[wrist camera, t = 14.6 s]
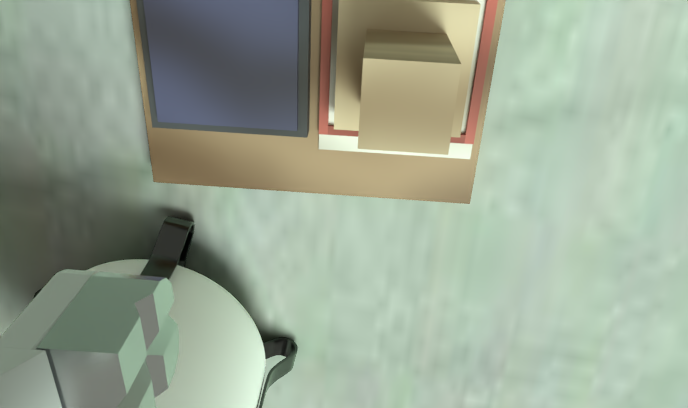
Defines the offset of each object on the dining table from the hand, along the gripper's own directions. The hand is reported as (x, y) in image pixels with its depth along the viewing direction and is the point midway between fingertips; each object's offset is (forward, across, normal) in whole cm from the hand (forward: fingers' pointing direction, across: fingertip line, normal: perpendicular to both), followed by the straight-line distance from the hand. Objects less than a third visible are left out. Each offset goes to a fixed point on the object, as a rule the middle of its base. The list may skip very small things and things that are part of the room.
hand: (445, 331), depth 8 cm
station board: (+18, +4, 0) cm, 18 cm away
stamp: (+17, 0, 0) cm, 17 cm away
